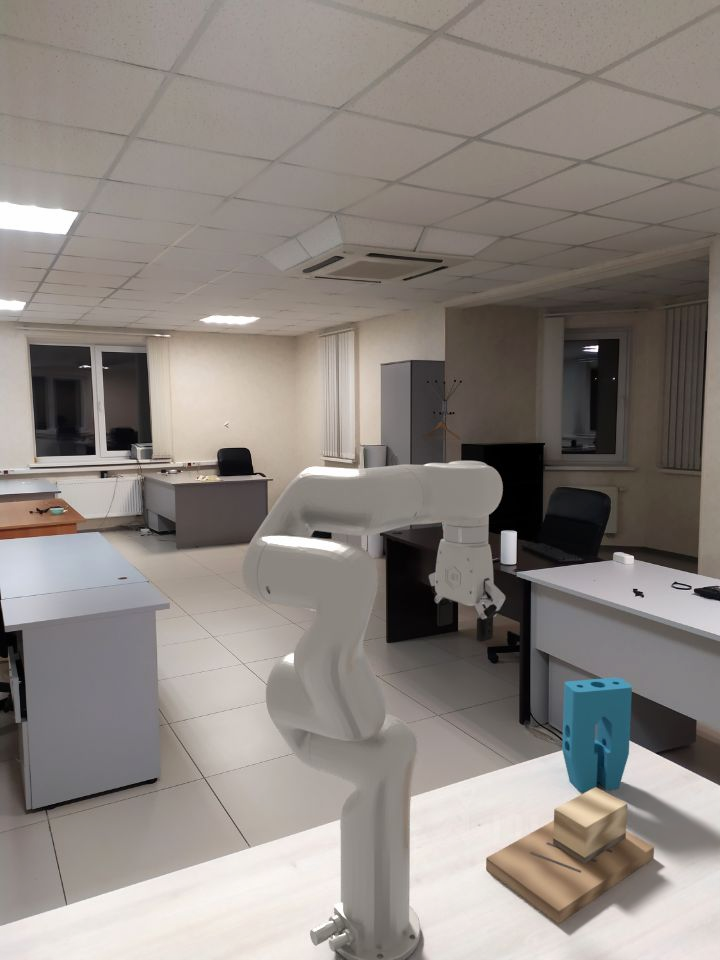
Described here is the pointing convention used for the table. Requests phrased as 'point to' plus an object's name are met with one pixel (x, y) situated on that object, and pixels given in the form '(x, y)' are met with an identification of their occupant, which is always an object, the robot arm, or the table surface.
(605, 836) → the block
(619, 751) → the block
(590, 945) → the table surface
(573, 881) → the oak board
